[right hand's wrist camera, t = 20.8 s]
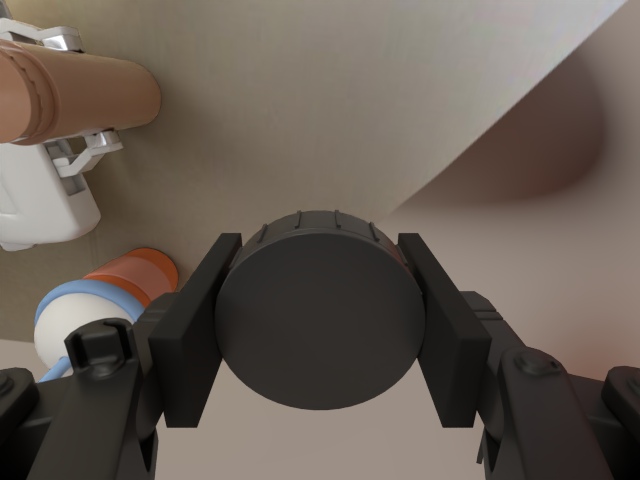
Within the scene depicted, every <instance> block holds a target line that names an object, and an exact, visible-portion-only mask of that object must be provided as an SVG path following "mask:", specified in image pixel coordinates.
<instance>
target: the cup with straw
mask: <svg viewBox="0 0 640 480" xmlns="http://www.w3.org/2000/svg"><path fill="white" fill-rule="evenodd" d="M177 284H178V272H177V269H176V267H175V265H174V264H173V262H172V261H171V260H170V259H169V258H168V257H167V256H166V255H164V254H163V253H161V252H159V251H157V250H154V249H149V248H139V249H135V250H132V251H130V252H129V253H127V254H125V255H123V256H122V257H119V258H116V259H114V260H111V261H110V262H108V263H106V264H105V265H103V266H101V267H100V268H98V269H96V270H95V271H93V272H91V273H90V274H88V275H86V276H85V277H83V278H81V279H80V280H74V281H70V282H67V283H64V284H62V285H60V286H58V287H56V288H54V289H53V290H52V291H50V292H49V293H48V294H47V295H46V296H45V297H44V298H43V300H42V301H41V302H40V304H39V306H38V308H37V311H36V314H35V333H34V342H35V347H36V351H37V353H38V356H39V358H40V359H41V361H42V362H43V363H44V365H45V366H46V367H47V368H48V369H49V371H48V372H47V373H46V374H45V375H44V376H43V377H42V378H41V380H40V381H39V382H43V381H48V380H53V379H57V378H61V377H66V376H70V375H72V374H73V368H72V365H71V362H70V359H69V356H68V353H67V350H66V347H65V344H64V339H65V338H66V337H67V336H68V335H69V334H70V333H71V332H72V331H74V330H75V329H77V328H78V327H80V326H82V325H85V324H87V323H89V322H92V321H95V320H99V319H103V318H113V317H118V318H123V319H127V320H128V321H129V322H131V323H132V325H133V324H134V322H137V319H138V317H139V316H140V315H141V314H142V313H144V310H145V309H146V308H147V306H148V305H149V304H150V303H151V302H152V301H153V300H154V299H156V298H157V297H159V296H161V295H162V294H164V293H165V292H174V291H175V289H176V287H177ZM39 382H38V383H39Z"/></svg>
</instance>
